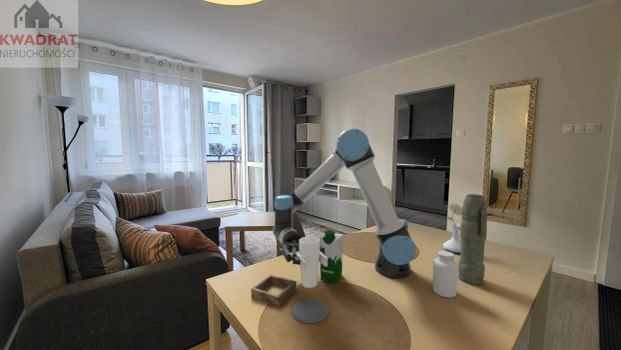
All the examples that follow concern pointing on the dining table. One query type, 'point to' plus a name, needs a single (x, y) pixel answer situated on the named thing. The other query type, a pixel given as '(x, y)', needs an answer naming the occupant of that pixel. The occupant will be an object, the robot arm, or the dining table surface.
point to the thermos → (473, 239)
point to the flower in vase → (454, 231)
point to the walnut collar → (270, 297)
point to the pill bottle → (445, 274)
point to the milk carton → (332, 256)
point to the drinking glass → (310, 260)
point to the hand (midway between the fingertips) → (316, 264)
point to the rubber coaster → (310, 311)
